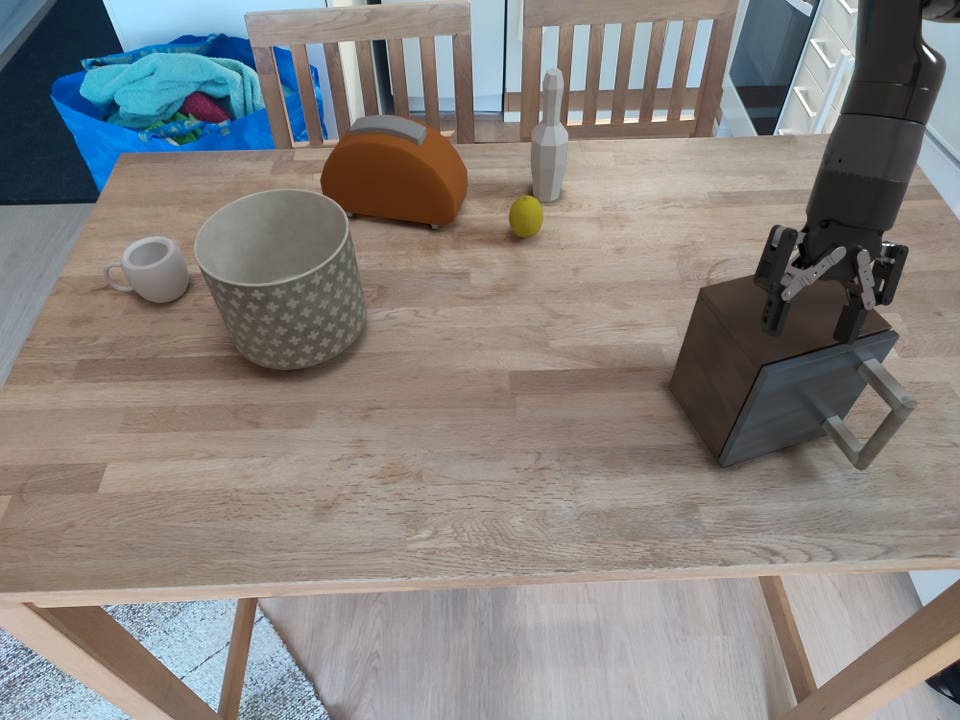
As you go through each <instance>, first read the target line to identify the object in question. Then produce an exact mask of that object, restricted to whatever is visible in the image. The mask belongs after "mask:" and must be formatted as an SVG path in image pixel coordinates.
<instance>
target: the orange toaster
mask: <svg viewBox="0 0 960 720" xmlns="http://www.w3.org/2000/svg"><path fill="white" fill-rule="evenodd" d="M463 161H464V160H463V159H462V157H461V155H460V153H459V152H458V151H457V149H456V148H455V147H454V145H453V144H452V143H451V142H450V140H449V139H448V138H447V137H445V136H444V135H442V133H440V132H438V130H437V129H435V128H433V127H431V126H429V125H428V124H426V123H424V122H423V121H421V120H418V119H414V118H409V117H407V116H406V117H405V116H402V115H398V114H397V115H396V114H375V115H374V114H373V115H371V114H370V115H366V116H360V117H357V118H356V119H355V121H354V122H353V124H352V125H351V126H350V127H349V128H348V129H347V130H346V131H345V132H344V134H343V135H342V137H341V138H340V140H339V141H338V142H337V144H336V145H335V146H334V148H333V149H332V151H331V152H330V153H329V155H328V157H327V159H326V160H325V162H324V164H323V167H322V170H321V171H322V172H321V174H320V178H319V183H320V187H321V193H322V195H324V196H326V197H329V198H330V199H332V200H334V201H335V202H336V203H337V204H339V205H340V206H341V207H342V209H343V210H344V212H345V213H346V215H347V217H353V216H354V215H355V214H356V215H357V214H358V215H365V216H372V217H378V218H386V219H393V220H400V221H406V222H413V223H421V224H427V225H431V228H432V229H434V230H438V228H439V226H444V227H446V226H448V225H450V224H453V223H454V222H455V221H456V218H457V216H458V214H459V212H460V210H461V207H462V205H463V203H464V201H465V199H466V196H467V193H468V189H469V177H468V169H467V167H466V164H465V163H464V162H463Z"/></svg>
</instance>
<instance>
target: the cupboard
mask: <svg viewBox="0 0 960 720" xmlns="http://www.w3.org/2000/svg"><path fill="white" fill-rule="evenodd" d="M800 270H804V268H803V267H802V268H801V269H800ZM754 275H755V273H754V274H750V275H749V274H748V275H745V276H741V277H737V278H734V279H733V278H732V279H730V280H725V281H721V282H718V283H714V284H710V285H706V286H702V287H700V288H699V290H698V293H697V296H696V300H695V303H694V306H693V309H692V312H691V316H690V318H689V322H688V325H687V328H686V331H685V334H684V337H683V340H682V344H681V347H680V350H679V353H678V357H677V359H676V362H675V365H674V368H673V371H672V374H671V378H670V381H669V384H668V388H669V390H670V391H671V393H672V394H673V396H674V397H675V399H676V400H677V402H678V403H679V405H680V407H681V408H682V410H683V411H684V413H685V414H686V416H687V417H688V419H689V420H690V422H691V423H692V425H693V426H694V428H695V430H696V431H697V432H698V434H699V435H700V437H701V438H702V440H703V442H704V443H705V444H706V446H707V447H708V449H709V450H710V452H711V453H712V455H713V456H714V458H715V460H719V458H720V456H721V454H722V452H723V449H724V447H725V445H726V443H727V441H728V439H729V437H730V435H731V433H732V431H733V428H734V426H735V424H736V422H737V420H738V418H739V416H740V414H741V412H742V410H743V407H744V405H745V403H746V401H747V399H748V397H749V395H750V393H751V391H752V389H753V386H754V384H755V382H756V380H757V378H758V376H759V374H760V372H761V370H762V368H763V367H765V366H768V365H772V364H775V363H779V362H782V361H786V360H789V359H793V358H796V357H800V356H803V355H807V354H810V353H814V352H817V351H821V350H825V349H828V348H832V347H835V346H839V345H842V343H840V342H838V341H836V340H834V338H833V334H834V331H835V328H836V325H837V322H838V320H839V317H840V314H841V311H842V308H843V306H844V304H849V302H848V300H847V297H846V293H845V289H844V287H843V286H842V285H841V284H840V282H838V281H835V280H830V281H824V280H819V279H817V280H816V281H815V282H814V283H812V284H811V285H809V286H805V287H803V288H802V289H801V290H800V291H799V292H798V293H797V294H795V295H794V296H793V297H792V298H791V299H790V300H788V301H790V302H792V303H791V306H790V309H789V312H788V315H787V318H786V321H785V324H784V327H783V330H782V333H781V336H780V337H771V336H769V335H767V334H765V333H763V332H762V329H761V328H762V327H761V326H760V319H761V316H762V313H763V310H764V307H765V303H766V300H767V292H766V291H765V290H763V289H762V288H760V287H758V286H756V285H754V283H753V278H754ZM892 329H893V326H892V325H891V324H890V323H889V322H888V320H886V319H885V318H884V317H883V316H882V315H881V314H880V313H879V312H878V311H877V310H876V309H875V307H874V308H873V309H871V310H869V311H868V313H867V316H866V319H865V321H864V324H863V327H862V329H861V332H860V335H859V336H858V338H857V339H856V340H860V339H863V338H867V337H870V336H874V335H877V334H881V333H884V332H888V331H891V330H892ZM856 340H855V341H856Z"/></svg>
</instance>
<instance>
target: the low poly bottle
mask: <svg viewBox="0 0 960 720" xmlns="http://www.w3.org/2000/svg"><path fill="white" fill-rule="evenodd" d="M564 90H565V82H564V77H563V72H562V70H561V69H560V68H552V67H551V68H549V69H547V70H546V71H545V75H544V78H543V80H542V103H543V104H542V119H541V120H540V122H539V123H538V124H536V125H535V127H534V128H533V129H532V130H531V137H530V138H531V140H530V169H531V170H530V171H531V183H532V193H533V194H532V195H533V196H532V197H534V198H536V199H537V200H538V201H539V202H544V203H545V202H546V203H547V202H549V203H550V202H553V201H556V200H557V199H559V198H560V193H561V189H562V185H563V180H564V176H565V172H566V167H567V161H568V153H569V152H568V151H569V132H568V131H567V129H566V128H565V127H564V125H563V124H562V122H561V109H562V102H563V101H562V100H563V97H564Z"/></svg>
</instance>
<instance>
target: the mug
mask: <svg viewBox="0 0 960 720" xmlns="http://www.w3.org/2000/svg"><path fill="white" fill-rule="evenodd" d="M112 268H121V270H122V273H123V275H124V277H125V278H126V280H127V282H128V283H129V285H130V286H122V285H119V284H117V283H116V282H115V281H113V279H112V278H111V276H110V269H112ZM102 272H103V277H104V280H105V281H106V283H107V284H108V285H109V286H110V287H111V288H113V289H115V290H117V291H120V292H132V291H134V292H136V293H137V294H139V295H140V296H141V297H142V298H144V299H145V300H147V301H148V302H152V303H155V304H156V303H157V304H167V303H169V302H173V301H175V300H177V299H179V298H180V297H181V296H183V294H184V293H185V292H186V290H187V288H188V286H189V279H190V277H189V269H188V265H187V262H186V260H185V257H184V255H183V253H182V251H181V250H180V248H179V247H178V246H177V244H176V243H175V242H173V241H172V240H171V239H169V238H167V237H164V236H157V235H155V236H154V235H153V236H148V237H143V238H140V239H138V240H135V241H134V242H132V243H131V244H129V245H127V247H125V249H123V251H122V252H121V255H120V261H112V262H109V263H107V264H106V265H105V266H104V267H103V271H102Z"/></svg>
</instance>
